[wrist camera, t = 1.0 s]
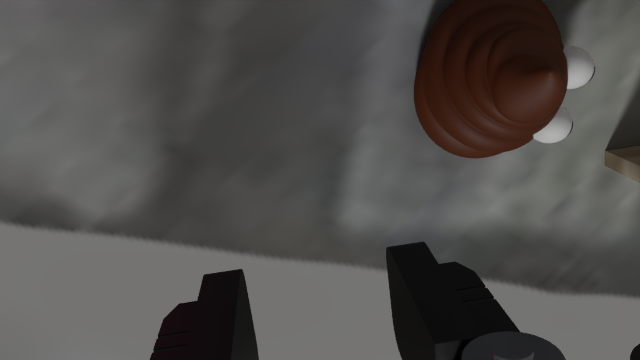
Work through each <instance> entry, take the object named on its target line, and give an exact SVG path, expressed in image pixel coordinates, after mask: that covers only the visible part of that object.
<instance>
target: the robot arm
mask: <svg viewBox="0 0 640 360" xmlns="http://www.w3.org/2000/svg"><path fill="white" fill-rule="evenodd" d="M386 261H387V271H388V280H389V289H390V299H391V309H392V318H393V325H394V331H395V337H396V341H397V345H398V349H399V352H400V355H401V358H402V360H566V359H565V357H564V355H563V354H562V353H561V351H560V350H559V349H558V348H557V347H556V346H555V345H553V344H552V343H550V342H549V341H547V340H545V339H543V338H540V337H538V336H535V335H531V334H527V333H522V332H520V331H519V330H518V328H517V327H516V326H515V324H514V323H513V322H512V321H511V319H510V318H509V316H508V315H507V314H506V313H505V311H504V310H503V308H502V307H501V306H500V304H499V303H498V302H497V301H496V299H495V300H494V297H493V295H492V294H491V293H490V291H489V290H488V289H487V288H485V285H484V283H483V282H482V281H481V279H480V278H479V277H478V275H477V274H476V273H475V272H474V271H473V270H471V269H469V268H467V267H465V266H463V265H461V264H459V263H457V262H450V263H443V264H438V262H437V261H436V259H435V258H434V256H433V254H432V253H431V251H430V250H429V248H428V247H427V245H426V244H425V242H418V243H411V244H404V245H398V246H391V247H387V248H386ZM153 350H154V353H152V355H151V358H150V360H259V357H258V349H257V342H256V336H255V331H254V326H253V320H252V314H251V309H250V303H249V298H248V293H247V287H246V281H245V277H244V273H243V270H242V269H238V270H232V271H225V272H218V273H212V274H205V275H204V276H203V280H202V284H201V288H200V292H199V296H198V300H197V301H194V302H187V303H181V304H178V305H177V306H176V307H175V308H174V309H173V310H172V311H171V312H170V313H169V314H168V315H167V316H166V317H165V318H164V319H163V323H162V325H161V328H160V331H159V334H158V339H157V340H156V343H155V346H154V349H153ZM630 360H640V344H639V345H638V346H636V347H635V348H634V349H633V351H632V353H631V355H630Z"/></svg>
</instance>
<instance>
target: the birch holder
mask: <svg viewBox="0 0 640 360" xmlns="http://www.w3.org/2000/svg"><path fill="white" fill-rule="evenodd" d="M605 166H607V167H609V168H611V169H613V170H615V171H617V172H619V173H621V174H623V175H625V176H627V177H629V178H631V179H633V180H635V181H637V182H639V183H640V146H634V147H627V148H620V149H613V150H607V151H605Z"/></svg>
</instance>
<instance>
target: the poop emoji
mask: <svg viewBox="0 0 640 360" xmlns="http://www.w3.org/2000/svg"><path fill="white" fill-rule="evenodd" d="M594 72H595V66H594V62H593V59H592V57H591V56H590V55H589V53H587V52H586V51H585V50H583V49H581V48H579V47H575V46H563V43H562V39H561V35H560V32H559V29H558V26H557V24H556V21H555V19H554V17H553V16H552V14H551V12H550V11H549V9H548V8H547V7H546V6H545V4H544V3H543V2H542V1H541V0H456V1H454V2H453V3H452V4H451V5H450V6H449V7H448V8H447V9H446V10H445V11H444V12H443V13H442V14H441V15H440V17H439V18H438V20H437V21H436V23H435V24H434V26H433V28H432V29H431V31H430V34H429V36H428V38H427V41H426V44H425V47H424V51H423V56H422V58H421V60H420V63H419V66H418V69H417V72H416V77H415V83H414V102H415V108H416V112H417V116H418V118H419V121H420V123H421V125H422V127H423V129H424V130H425V132H426V133H427V135H428V136H429V137H430V138H431V139H432V140H433V141H434V142H435V143H436V144H437V145H438V146H440V147H441V148H442V149H444V150H446V151H448V152H450V153H452V154H454V155H457V156H461V157H466V158H485V157H490V156H494V155H497V154H500V153H502V152H506V151H511V150H514V149H517V148H519V147H521V146H523V145H525V144H526V143H528V142H530V141H531V140H532V139H533V138H534V139H535V140H537V141H539V142H543V143H555V142H558V141H561V140H562V139H564V138H565V137H566V136H568V135H569V134H570V132H571V130H572V127H573V122H572V118H571V115H570V113H569V112H568V111H567V109H566V108H564V107H563V106H562V105H561V104H562V102H563V99H564V97H565V94H566V90H567V89H574V88H578V87H581V86H583V85H584V84H586V83H587V82H589V81H590V80H591V78H592V77H593V75H594Z"/></svg>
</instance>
